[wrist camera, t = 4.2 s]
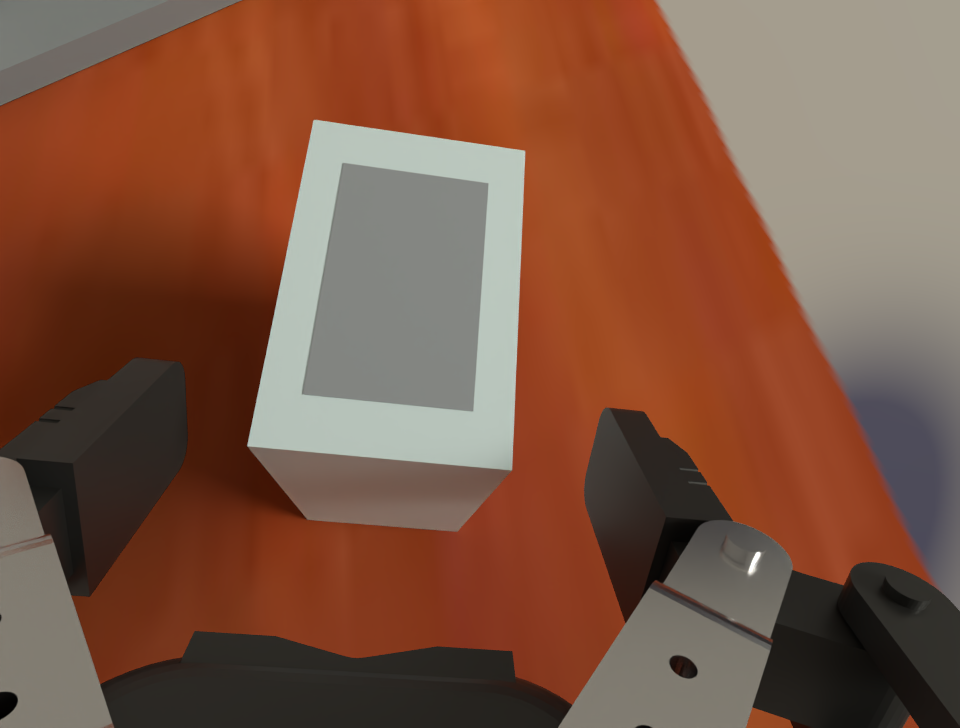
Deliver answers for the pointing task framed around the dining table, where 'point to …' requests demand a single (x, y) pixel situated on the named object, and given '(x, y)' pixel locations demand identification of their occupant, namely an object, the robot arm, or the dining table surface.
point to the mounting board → (80, 35)
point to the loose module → (395, 330)
